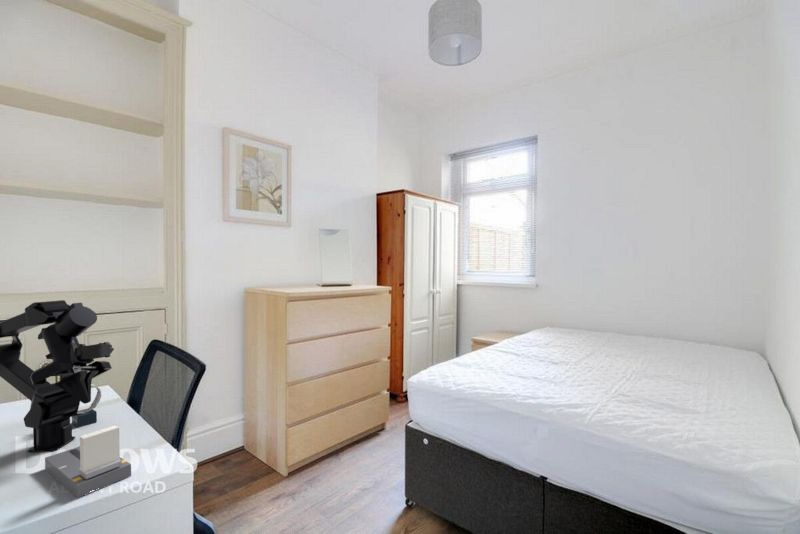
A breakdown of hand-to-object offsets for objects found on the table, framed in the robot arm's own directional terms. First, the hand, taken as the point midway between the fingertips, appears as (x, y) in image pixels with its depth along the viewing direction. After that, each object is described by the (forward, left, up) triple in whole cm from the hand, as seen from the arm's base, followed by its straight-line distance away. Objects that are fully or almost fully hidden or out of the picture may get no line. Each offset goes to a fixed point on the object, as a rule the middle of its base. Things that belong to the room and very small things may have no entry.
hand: (87, 402), depth 90 cm
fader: (+12, -15, -9) cm, 21 cm away
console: (+6, -10, -12) cm, 17 cm away
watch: (-14, +19, -12) cm, 27 cm away
